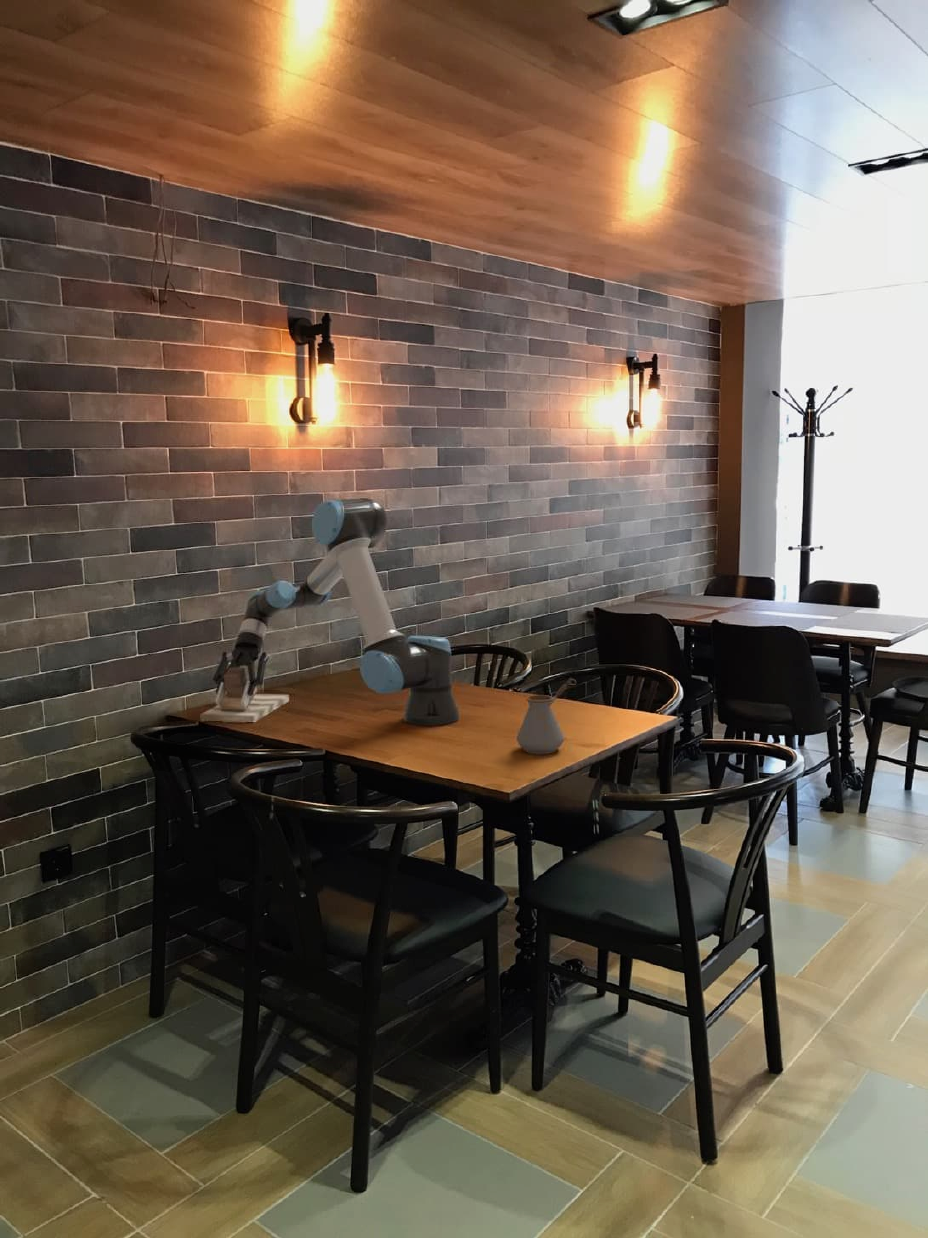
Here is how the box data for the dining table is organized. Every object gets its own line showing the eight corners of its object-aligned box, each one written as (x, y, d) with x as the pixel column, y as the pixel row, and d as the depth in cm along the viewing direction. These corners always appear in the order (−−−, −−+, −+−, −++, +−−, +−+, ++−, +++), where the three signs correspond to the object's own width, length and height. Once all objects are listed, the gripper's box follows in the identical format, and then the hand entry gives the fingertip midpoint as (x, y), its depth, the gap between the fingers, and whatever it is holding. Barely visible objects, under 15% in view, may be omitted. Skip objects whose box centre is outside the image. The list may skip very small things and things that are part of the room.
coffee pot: (547, 759, 228) (546, 696, 226) (507, 752, 235) (506, 691, 233) (593, 738, 245) (593, 679, 243) (554, 732, 252) (553, 675, 250)
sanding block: (234, 690, 287) (228, 662, 283) (257, 690, 286) (251, 662, 282) (221, 710, 277) (215, 681, 273) (244, 711, 276) (238, 682, 272)
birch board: (240, 700, 300) (239, 693, 300) (289, 701, 297) (288, 694, 296) (200, 721, 275) (200, 714, 275) (253, 722, 272) (253, 715, 271)
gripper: (286, 645, 290) (268, 711, 276) (224, 645, 294) (203, 710, 280) (278, 630, 284) (259, 697, 270) (214, 630, 288) (193, 696, 275)
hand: (230, 704), depth 275 cm, fingers closed on sanding block, 7 cm apart
